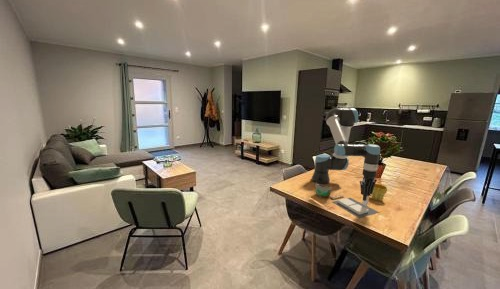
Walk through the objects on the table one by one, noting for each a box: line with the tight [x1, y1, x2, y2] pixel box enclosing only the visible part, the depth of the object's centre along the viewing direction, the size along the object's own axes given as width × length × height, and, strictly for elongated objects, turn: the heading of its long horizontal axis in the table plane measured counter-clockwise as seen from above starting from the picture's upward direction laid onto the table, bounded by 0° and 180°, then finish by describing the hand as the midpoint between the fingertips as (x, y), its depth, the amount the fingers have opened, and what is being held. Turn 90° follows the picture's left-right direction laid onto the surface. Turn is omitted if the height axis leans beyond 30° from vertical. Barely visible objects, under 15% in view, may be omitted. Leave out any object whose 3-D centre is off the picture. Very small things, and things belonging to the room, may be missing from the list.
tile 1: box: [337, 197, 356, 208], centre depth 140 cm, size 8×2×8 cm
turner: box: [329, 194, 345, 201], centre depth 151 cm, size 18×6×2 cm, turn 114°
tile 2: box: [349, 204, 369, 215], centre depth 132 cm, size 8×2×8 cm
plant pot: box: [371, 183, 388, 202], centre depth 151 cm, size 10×10×10 cm
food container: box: [314, 182, 333, 199], centre depth 150 cm, size 12×6×10 cm, turn 45°
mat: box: [331, 197, 380, 219], centre depth 137 cm, size 22×18×1 cm
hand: (364, 204), depth 133 cm, fingers closed
